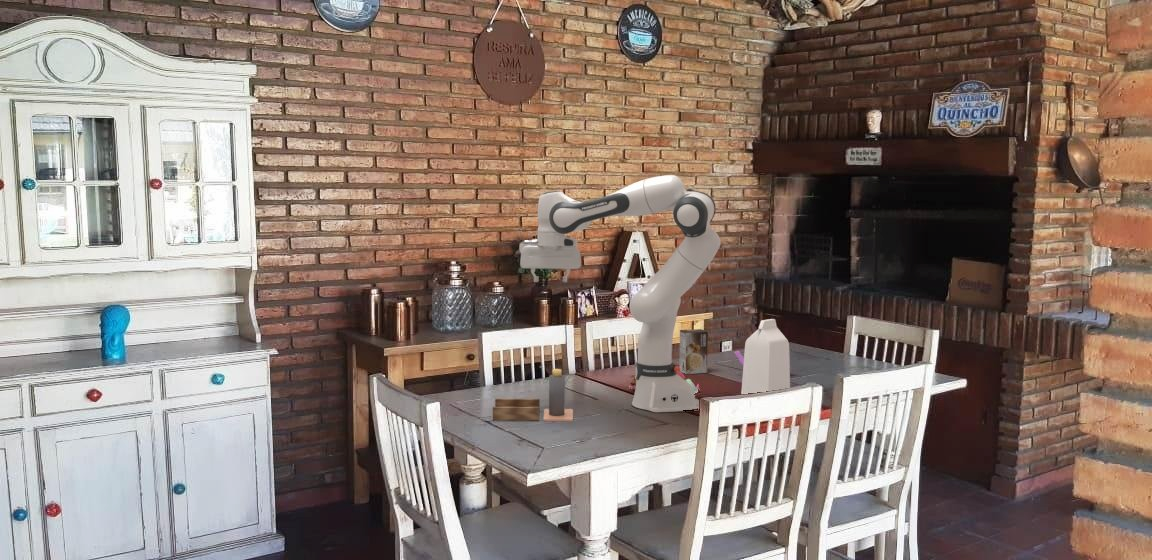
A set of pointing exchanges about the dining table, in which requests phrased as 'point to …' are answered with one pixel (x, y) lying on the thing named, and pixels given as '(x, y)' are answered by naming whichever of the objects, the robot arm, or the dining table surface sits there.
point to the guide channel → (516, 409)
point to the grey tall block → (556, 393)
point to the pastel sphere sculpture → (678, 374)
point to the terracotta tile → (566, 417)
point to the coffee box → (693, 351)
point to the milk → (766, 360)
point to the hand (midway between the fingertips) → (550, 282)
